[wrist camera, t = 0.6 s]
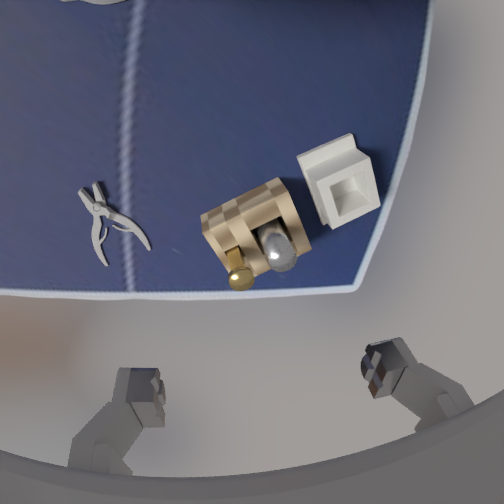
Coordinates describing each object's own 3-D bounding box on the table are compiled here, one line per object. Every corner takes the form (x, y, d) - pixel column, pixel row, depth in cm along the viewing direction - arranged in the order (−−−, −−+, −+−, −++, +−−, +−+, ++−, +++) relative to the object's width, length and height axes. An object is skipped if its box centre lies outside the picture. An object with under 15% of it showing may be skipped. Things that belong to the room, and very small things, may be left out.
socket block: (200, 215, 51) (202, 233, 46) (278, 177, 49) (288, 191, 45) (232, 265, 58) (237, 284, 53) (301, 232, 56) (311, 249, 52)
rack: (296, 156, 48) (309, 169, 43) (349, 132, 47) (367, 143, 42) (321, 222, 56) (334, 240, 51) (367, 200, 55) (384, 215, 50)
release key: (218, 245, 50) (224, 278, 43) (238, 235, 49) (248, 267, 43) (228, 261, 52) (236, 294, 45) (248, 251, 52) (258, 284, 45)
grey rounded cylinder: (249, 215, 52) (265, 256, 43) (270, 204, 52) (291, 244, 42) (258, 232, 55) (275, 276, 45) (279, 222, 54) (300, 264, 45)
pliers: (103, 269, 51) (61, 199, 42) (105, 264, 52) (64, 195, 43) (151, 252, 51) (112, 175, 42) (152, 246, 53) (114, 171, 43)
